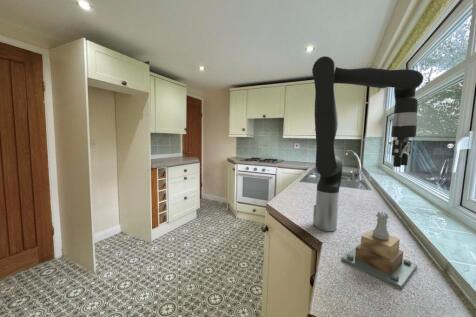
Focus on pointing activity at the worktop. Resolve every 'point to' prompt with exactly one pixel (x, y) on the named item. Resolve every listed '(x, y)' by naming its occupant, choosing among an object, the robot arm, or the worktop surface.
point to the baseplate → (394, 279)
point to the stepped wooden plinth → (380, 252)
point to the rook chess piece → (381, 227)
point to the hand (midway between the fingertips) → (400, 166)
